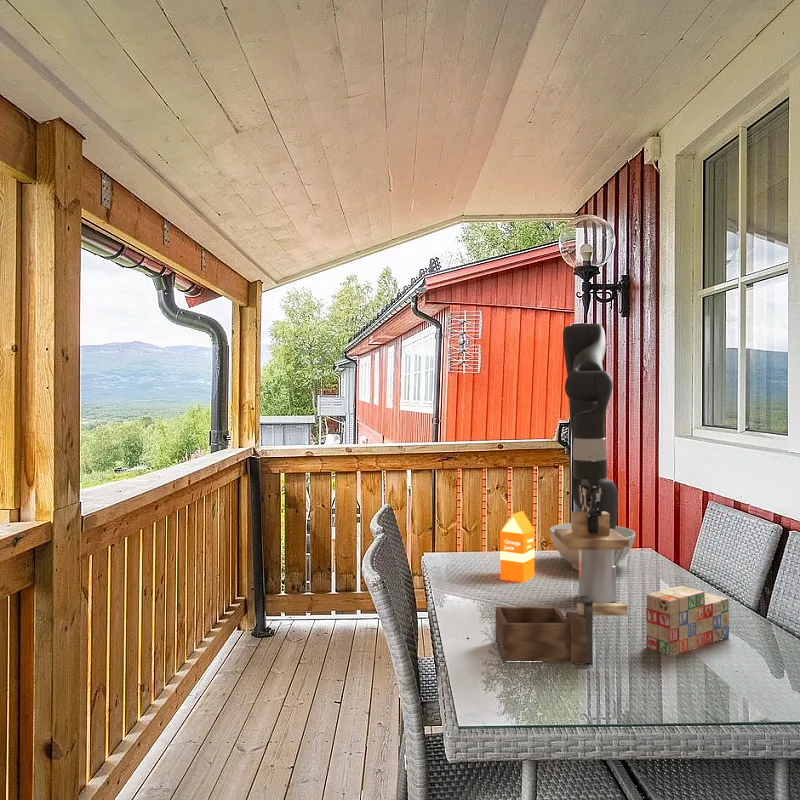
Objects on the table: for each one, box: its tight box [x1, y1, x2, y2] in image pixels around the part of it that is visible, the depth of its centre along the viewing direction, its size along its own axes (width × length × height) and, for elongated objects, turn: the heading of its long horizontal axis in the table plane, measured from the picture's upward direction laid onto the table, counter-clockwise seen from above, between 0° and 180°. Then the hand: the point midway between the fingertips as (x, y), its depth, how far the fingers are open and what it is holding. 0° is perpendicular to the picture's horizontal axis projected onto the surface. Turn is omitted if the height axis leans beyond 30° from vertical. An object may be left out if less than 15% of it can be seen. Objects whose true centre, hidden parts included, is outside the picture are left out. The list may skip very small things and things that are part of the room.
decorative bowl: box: [548, 522, 636, 571], centre depth 224 cm, size 27×27×12 cm
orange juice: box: [499, 510, 536, 584], centre depth 212 cm, size 8×9×20 cm
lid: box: [554, 511, 629, 550], centre depth 160 cm, size 14×12×8 cm
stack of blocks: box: [645, 585, 730, 657], centre depth 156 cm, size 21×6×12 cm, turn 122°
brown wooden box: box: [495, 596, 594, 665], centre depth 150 cm, size 18×13×13 cm
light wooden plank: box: [576, 602, 628, 616], centre depth 146 cm, size 10×2×2 cm, turn 90°
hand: (590, 531), depth 160 cm, fingers closed on lid, 3 cm apart
